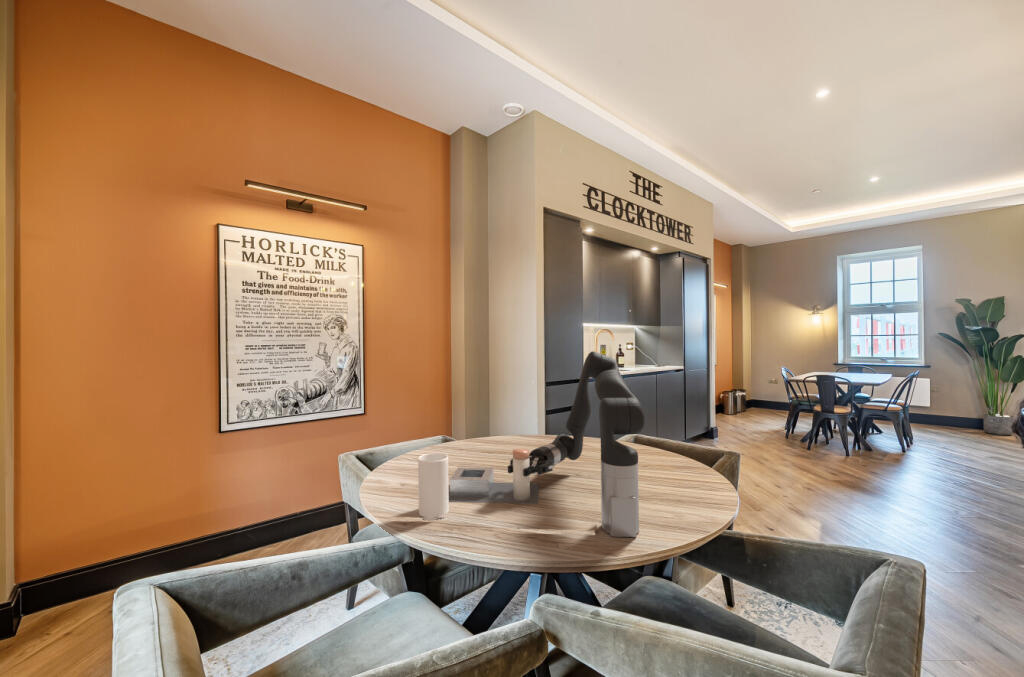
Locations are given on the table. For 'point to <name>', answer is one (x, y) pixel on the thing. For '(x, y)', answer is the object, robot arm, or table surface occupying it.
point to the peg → (520, 474)
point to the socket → (472, 482)
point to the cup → (433, 485)
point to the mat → (500, 495)
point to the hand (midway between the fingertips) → (516, 471)
